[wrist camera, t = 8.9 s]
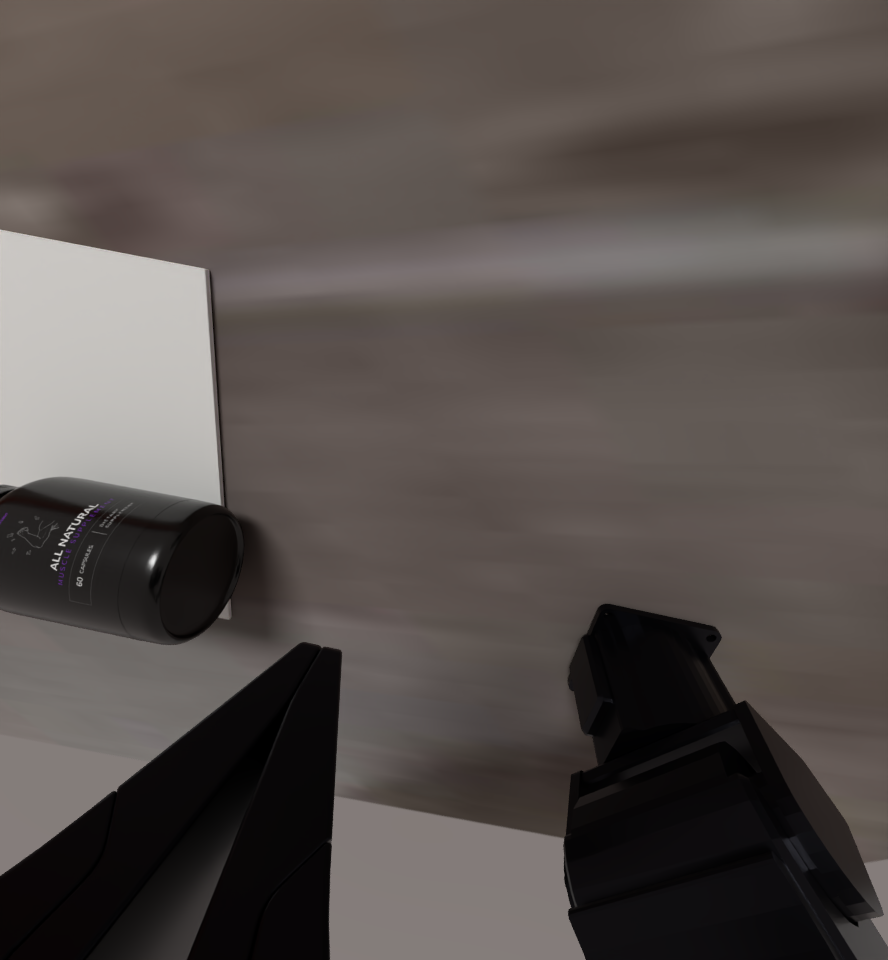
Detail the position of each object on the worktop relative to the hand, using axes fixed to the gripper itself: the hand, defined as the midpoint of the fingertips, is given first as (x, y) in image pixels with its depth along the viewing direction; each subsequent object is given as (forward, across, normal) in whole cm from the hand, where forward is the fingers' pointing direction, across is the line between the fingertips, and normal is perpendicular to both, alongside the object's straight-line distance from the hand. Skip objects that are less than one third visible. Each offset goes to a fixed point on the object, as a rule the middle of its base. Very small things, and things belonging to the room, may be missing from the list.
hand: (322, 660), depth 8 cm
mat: (+13, +18, +4) cm, 22 cm away
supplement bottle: (+9, +9, +7) cm, 15 cm away
